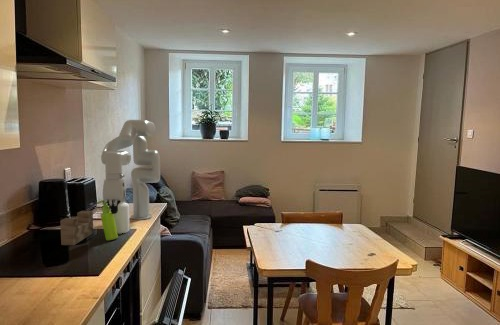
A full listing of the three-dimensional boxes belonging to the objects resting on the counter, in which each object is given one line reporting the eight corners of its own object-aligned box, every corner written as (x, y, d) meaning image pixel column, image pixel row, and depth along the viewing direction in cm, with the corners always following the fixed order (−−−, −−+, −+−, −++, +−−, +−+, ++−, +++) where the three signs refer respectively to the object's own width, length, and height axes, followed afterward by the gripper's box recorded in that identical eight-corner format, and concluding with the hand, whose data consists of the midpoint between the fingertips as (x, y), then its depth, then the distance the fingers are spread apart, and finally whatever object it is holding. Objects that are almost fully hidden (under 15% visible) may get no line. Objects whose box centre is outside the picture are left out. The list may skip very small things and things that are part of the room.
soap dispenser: (101, 240, 180) (93, 202, 178) (113, 236, 186) (105, 198, 184) (109, 241, 177) (100, 202, 175) (120, 236, 183) (112, 198, 180)
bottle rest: (82, 232, 192) (81, 210, 191) (93, 233, 192) (92, 211, 191) (61, 245, 172) (60, 220, 171) (73, 245, 172) (72, 220, 171)
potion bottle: (132, 230, 198) (131, 198, 196) (125, 234, 190) (124, 201, 188) (117, 229, 199) (116, 197, 197) (110, 234, 191) (109, 200, 189)
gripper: (131, 176, 181) (131, 212, 183) (102, 175, 182) (102, 211, 183) (125, 178, 174) (126, 215, 175) (95, 177, 174) (96, 214, 176)
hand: (114, 213), depth 179 cm, fingers closed
